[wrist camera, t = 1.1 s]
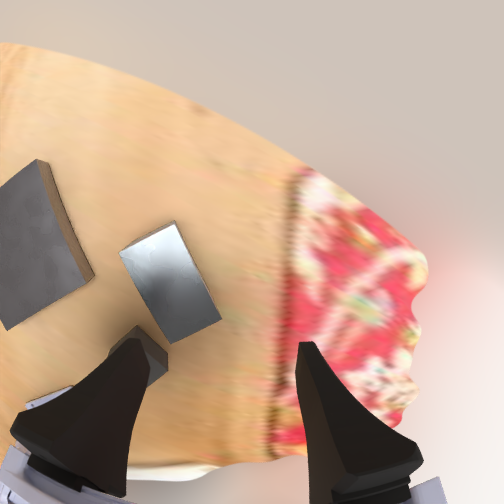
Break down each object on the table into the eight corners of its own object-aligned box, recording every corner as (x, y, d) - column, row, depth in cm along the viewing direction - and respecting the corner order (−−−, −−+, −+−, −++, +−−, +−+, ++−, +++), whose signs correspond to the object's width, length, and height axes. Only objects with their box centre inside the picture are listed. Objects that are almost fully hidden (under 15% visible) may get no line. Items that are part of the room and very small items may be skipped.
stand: (17, 321, 18) (6, 331, 16) (-24, 222, 16) (-38, 224, 13) (94, 275, 20) (86, 283, 18) (48, 163, 18) (36, 158, 15)
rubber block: (140, 376, 23) (138, 394, 20) (110, 349, 22) (104, 366, 19) (167, 353, 24) (168, 370, 21) (136, 325, 22) (133, 340, 19)
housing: (170, 312, 23) (170, 344, 17) (132, 241, 21) (118, 253, 15) (210, 293, 24) (222, 319, 18) (174, 220, 22) (174, 224, 16)
